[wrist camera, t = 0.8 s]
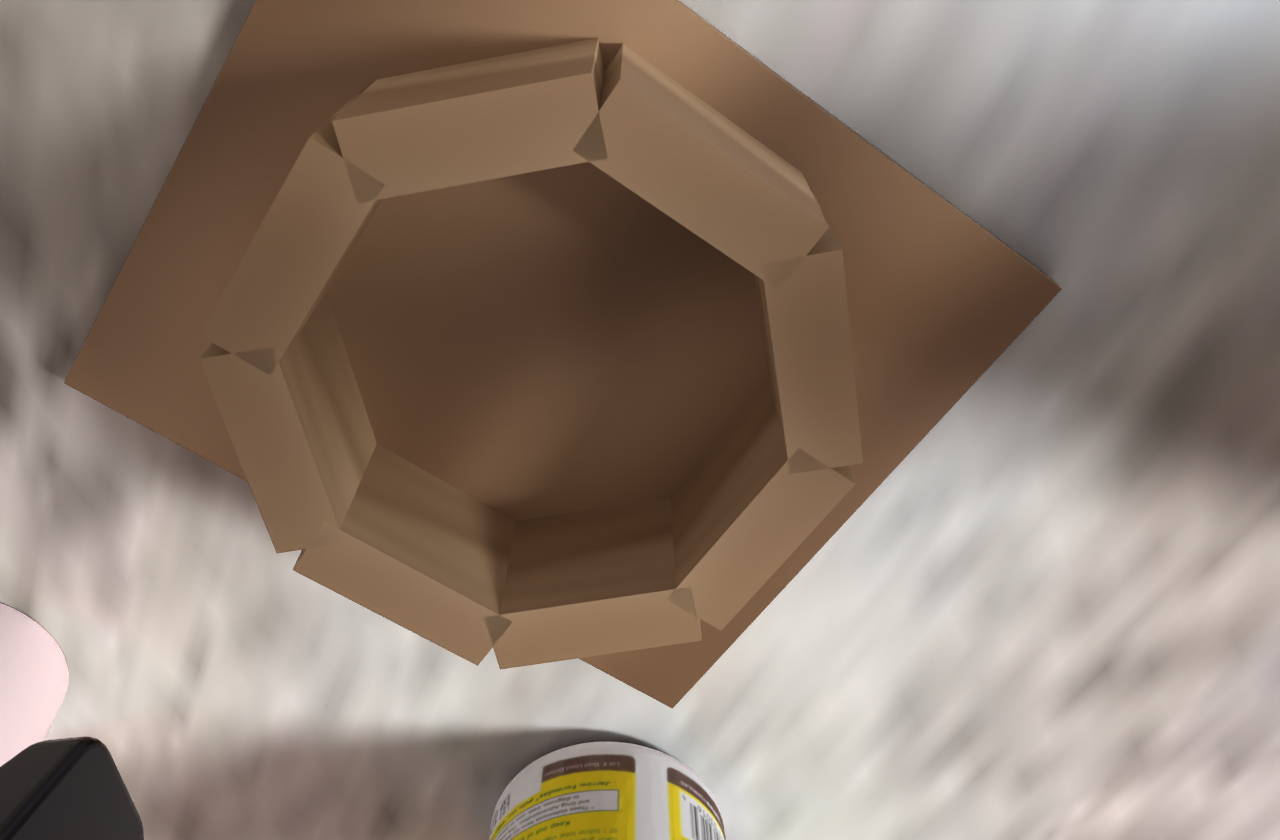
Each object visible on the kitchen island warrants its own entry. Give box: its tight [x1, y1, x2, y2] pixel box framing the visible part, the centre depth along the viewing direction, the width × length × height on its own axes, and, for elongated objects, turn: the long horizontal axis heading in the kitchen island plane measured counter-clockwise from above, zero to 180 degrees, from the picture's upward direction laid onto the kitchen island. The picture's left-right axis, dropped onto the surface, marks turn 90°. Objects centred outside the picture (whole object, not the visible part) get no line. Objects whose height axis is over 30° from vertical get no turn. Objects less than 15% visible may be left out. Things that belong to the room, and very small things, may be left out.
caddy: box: [64, 0, 1061, 708], centre depth 19 cm, size 14×12×4 cm
